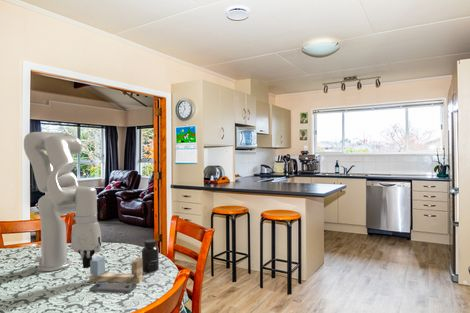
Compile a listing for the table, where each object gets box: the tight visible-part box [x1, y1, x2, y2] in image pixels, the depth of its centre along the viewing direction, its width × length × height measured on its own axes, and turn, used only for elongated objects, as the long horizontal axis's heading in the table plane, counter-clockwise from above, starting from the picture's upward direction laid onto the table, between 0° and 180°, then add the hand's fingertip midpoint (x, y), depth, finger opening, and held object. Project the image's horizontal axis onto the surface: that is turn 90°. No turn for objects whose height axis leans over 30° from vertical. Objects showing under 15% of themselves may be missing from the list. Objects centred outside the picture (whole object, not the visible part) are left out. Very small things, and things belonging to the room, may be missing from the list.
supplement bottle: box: [141, 239, 160, 273], centre depth 131 cm, size 7×7×12 cm
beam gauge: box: [88, 257, 144, 284], centre depth 118 cm, size 20×10×8 cm, turn 82°
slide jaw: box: [84, 256, 106, 280], centre depth 119 cm, size 3×10×6 cm, turn 172°
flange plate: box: [89, 282, 137, 294], centre depth 112 cm, size 15×5×1 cm, turn 82°
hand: (87, 267), depth 122 cm, fingers closed
